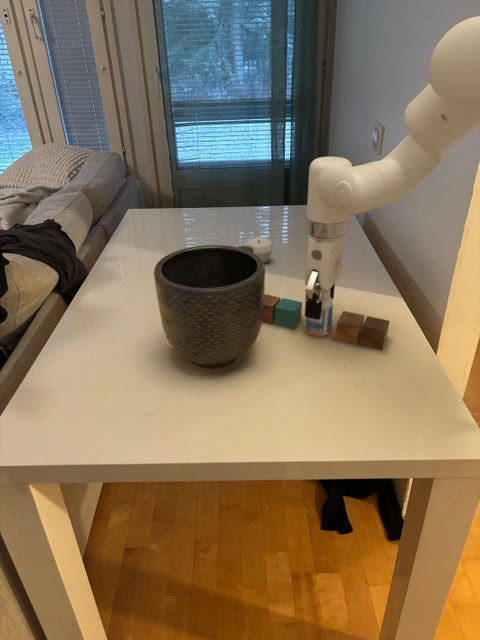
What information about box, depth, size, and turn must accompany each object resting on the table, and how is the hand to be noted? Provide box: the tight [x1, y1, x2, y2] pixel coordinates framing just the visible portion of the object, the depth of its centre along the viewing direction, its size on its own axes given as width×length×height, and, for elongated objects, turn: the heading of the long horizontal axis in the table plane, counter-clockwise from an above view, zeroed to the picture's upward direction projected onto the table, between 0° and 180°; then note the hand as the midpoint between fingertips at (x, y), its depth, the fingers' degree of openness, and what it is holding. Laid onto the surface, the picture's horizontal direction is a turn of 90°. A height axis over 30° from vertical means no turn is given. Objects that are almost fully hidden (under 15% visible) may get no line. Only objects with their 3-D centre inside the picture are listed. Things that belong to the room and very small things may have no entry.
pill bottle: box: [305, 284, 334, 337], centre depth 97 cm, size 6×5×10 cm
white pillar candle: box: [245, 237, 274, 264], centre depth 128 cm, size 8×8×7 cm
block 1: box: [262, 293, 282, 325], centre depth 102 cm, size 4×4×4 cm
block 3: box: [335, 310, 366, 345], centre depth 95 cm, size 4×4×4 cm
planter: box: [153, 244, 266, 370], centre depth 87 cm, size 20×20×19 cm
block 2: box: [274, 297, 303, 330], centre depth 101 cm, size 4×4×4 cm
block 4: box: [359, 315, 391, 351], centre depth 93 cm, size 4×4×4 cm
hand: (319, 307), depth 96 cm, fingers open, 8 cm apart
